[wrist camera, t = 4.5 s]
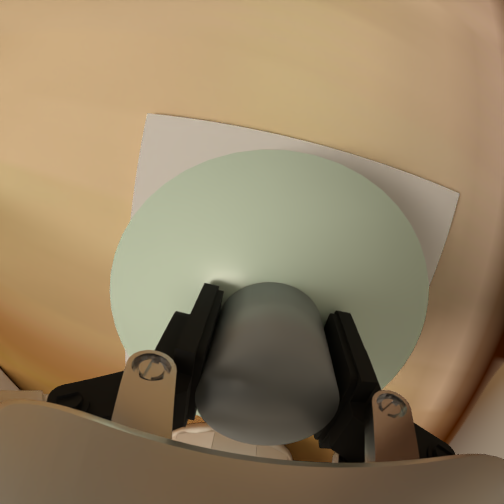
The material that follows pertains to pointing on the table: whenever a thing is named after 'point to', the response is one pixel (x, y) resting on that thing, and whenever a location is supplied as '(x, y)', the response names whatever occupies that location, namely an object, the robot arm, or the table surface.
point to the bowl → (226, 442)
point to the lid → (272, 283)
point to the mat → (245, 139)
